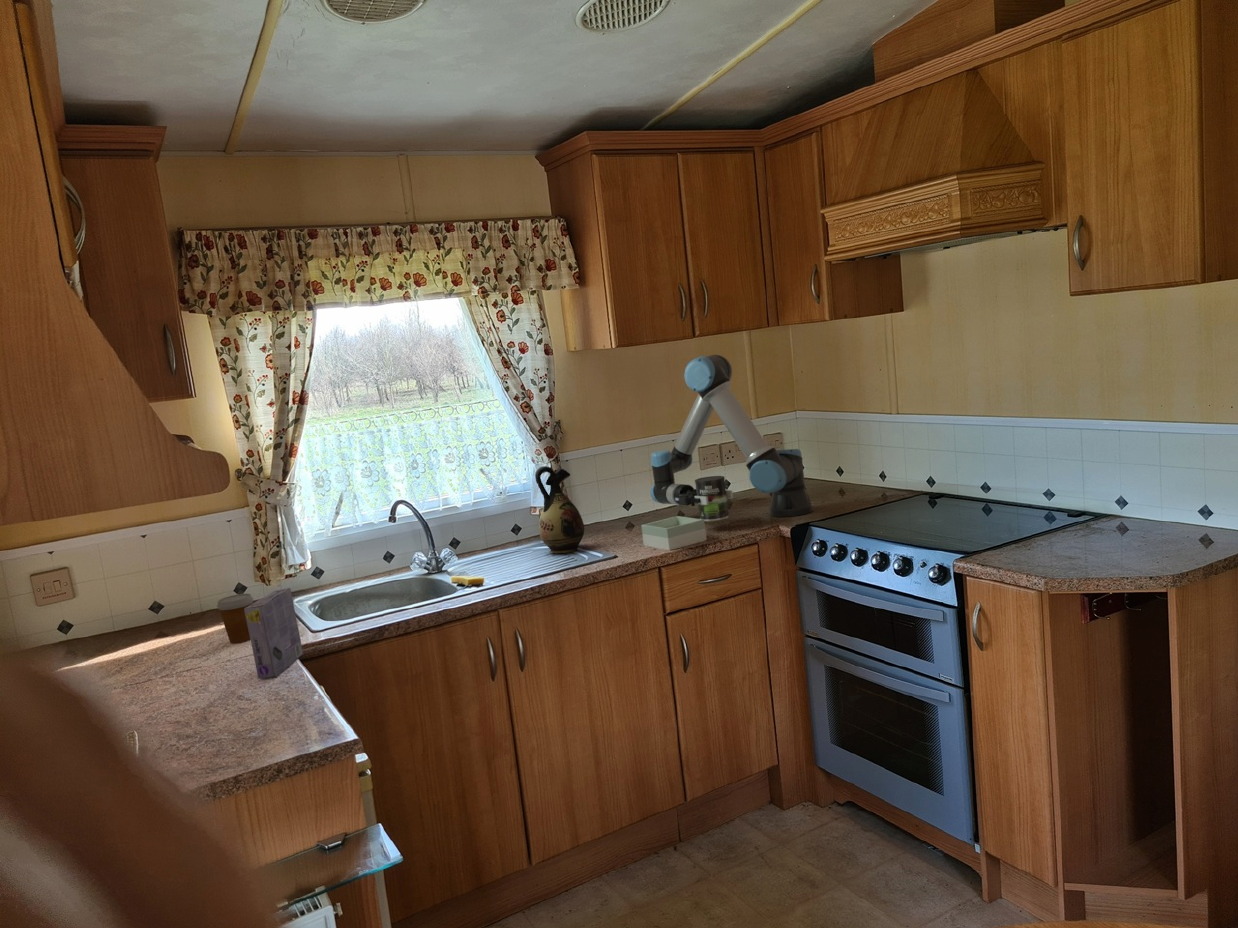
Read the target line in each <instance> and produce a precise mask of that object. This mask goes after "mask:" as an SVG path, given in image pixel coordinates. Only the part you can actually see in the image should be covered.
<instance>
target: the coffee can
mask: <svg viewBox="0 0 1238 928" xmlns="http://www.w3.org/2000/svg"><path fill="white" fill-rule="evenodd" d="M725 479H726V477H725V476H723V475H712V476H704V477H700V478H697V479H695V480H694V484H695V489H696V492H697V496H706V497H708V504H709V505H702V504H697V505H698V513H699V519H704V523H705V522H707V523H709V522H717V521H719V522H720V521H723V520H727V519H729V518H730V514H729V513H730V512H729V506H728V505H729V504H728V498H727V496H726V490H727V489H726V481H725Z"/></svg>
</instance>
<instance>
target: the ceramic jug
mask: <svg viewBox="0 0 1238 928" xmlns="http://www.w3.org/2000/svg"><path fill="white" fill-rule="evenodd" d="M544 473H549V476H548V477H547V479H546V481H545V485H546V486H550V490H549V492H548V491H547V490H546V488H545V485H544V484H543V481H542V479H541V476H542V474H544ZM534 476H535V478H534V479H535V482H536V484H537V486H538V489H539V490H540V492H541V494H542V496H543V507H542V511H541V513H540V517H539V521H538V522H539V523H538V532H539V533H538V534H539V537H540V539H541V541H542V543H543V544H544V545H546V547H547V548H548V549H549V550H550V553H551V554H566V553H573V552H577V551H578V550H579V549H578V548H579V545H580V544H581V542H582V539H583V538H584V533H585V524H584V521H583V518H582V514H580V511H579V510H578V508H577V506H576V505H575V504H574V503H573V502H572V500H570V498H569V497H568V496H567V495H566V494H565V493H564V492H563V490H562V489H561V488H562V487H561V486H560V485H561V483H562V482H563V481H565V480H567V479H568V478H569V477H571V473H569V472H568V471H567V470H566V469H564V468H563V467H561V468H557V469H556V470H554V469H553V468H552V467H550V466H546V465H545V466H544V465H543V466H540V467H539V468H537V470H536V472H535V475H534Z"/></svg>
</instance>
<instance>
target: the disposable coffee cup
mask: <svg viewBox="0 0 1238 928" xmlns="http://www.w3.org/2000/svg"><path fill="white" fill-rule="evenodd" d="M253 603H254V598H253V596H252V594H250V593H238V594H234V595H233V594H232V595H228V596H225V597H222V598H220V599H218V600H217V604H216V608H217V609H218V611H219V612H220V616H221V619H222V622H223V625H224V628H225V632H226V634H227V637H228V640H229V643H230V644H240V643H245V642H248V641H251V640H250V635H249V631H248V626H247V621H246V616H245V611H244V608H246V607H248V606H250V605H251V604H253Z"/></svg>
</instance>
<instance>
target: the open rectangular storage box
mask: <svg viewBox="0 0 1238 928" xmlns="http://www.w3.org/2000/svg"><path fill="white" fill-rule="evenodd" d="M640 527H641V534H642V541H643V542H642V543H643V546H645V547H651V548H654V549H655V548H656V549H661V550H666V551H673V550H675V549H679V548H683V547H687V546H691V545H693V544H694V545H695V544H698V542H699V543H702V542H705V540H706V541H707V535H706V534H707V533H706V524H705V521H704V519H700V518H694V517H688V516H679V515H676V516H672V517H668V518H664V519H660V520H657V521H652V522H648V523H644V524H641V525H640Z"/></svg>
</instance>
